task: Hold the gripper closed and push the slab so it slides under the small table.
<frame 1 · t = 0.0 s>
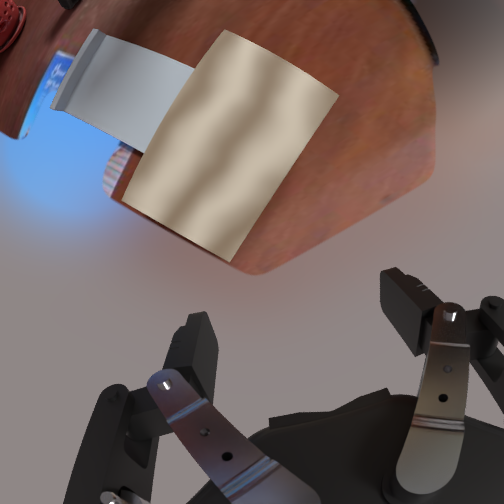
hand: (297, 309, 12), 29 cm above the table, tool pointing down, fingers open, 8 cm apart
small table: (190, 121, 35), on the table
plant pot: (10, 31, 24), on the table
slab: (125, 89, 33), on the table
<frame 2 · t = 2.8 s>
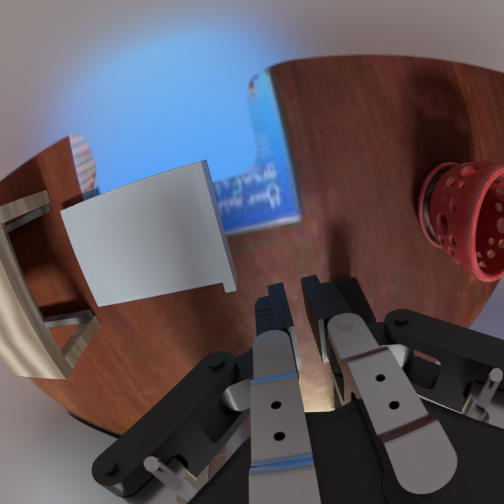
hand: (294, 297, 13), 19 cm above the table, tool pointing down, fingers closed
small table: (71, 261, 32), on the table
plant pot: (444, 201, 31), on the table
slab: (143, 240, 32), on the table
magazine: (342, 359, 40), on the table
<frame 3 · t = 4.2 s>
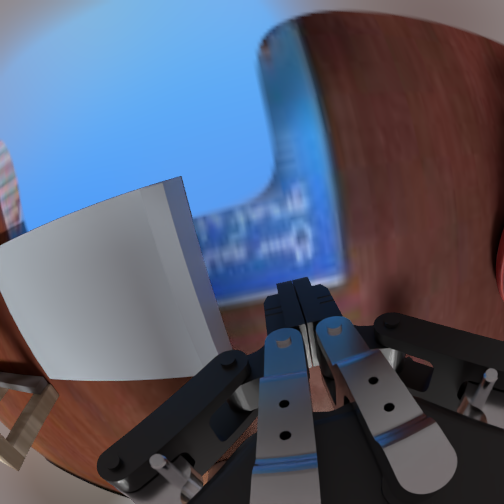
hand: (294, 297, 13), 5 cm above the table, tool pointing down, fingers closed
small table: (10, 318, 19), on the table
slab: (90, 304, 19), on the table
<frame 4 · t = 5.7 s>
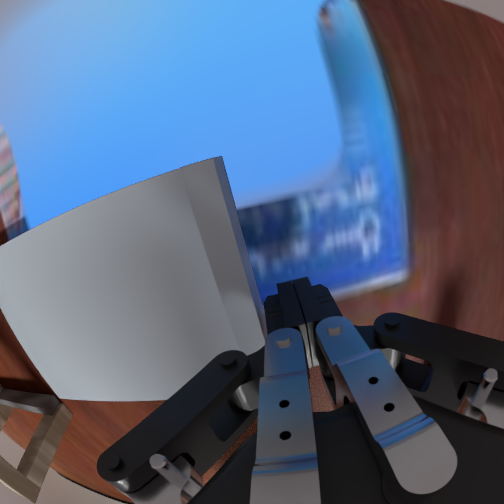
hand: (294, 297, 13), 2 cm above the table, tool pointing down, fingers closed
small table: (13, 332, 16), on the table
slab: (105, 315, 16), on the table
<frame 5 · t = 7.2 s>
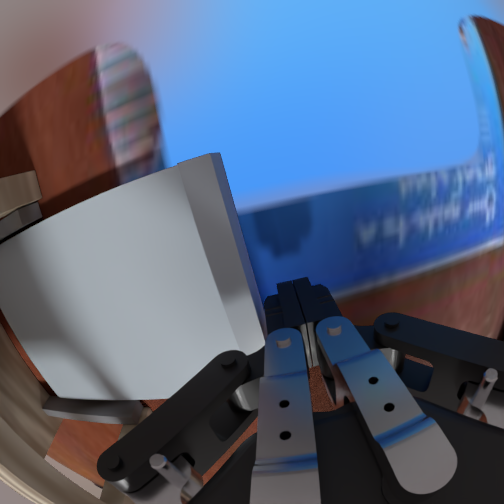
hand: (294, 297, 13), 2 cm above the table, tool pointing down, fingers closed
small table: (93, 322, 16), on the table
slab: (104, 313, 16), on the table, touching gripper
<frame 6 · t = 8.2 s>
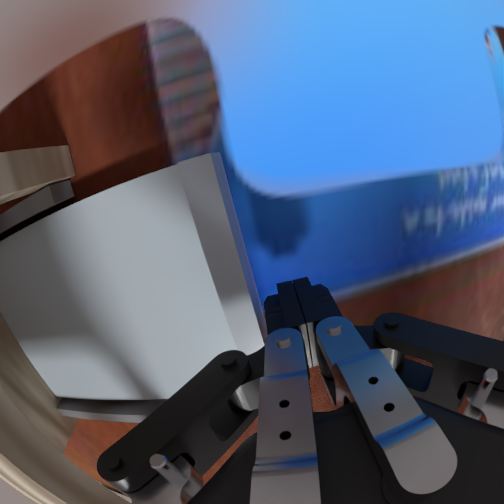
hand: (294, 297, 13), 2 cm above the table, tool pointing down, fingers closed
small table: (127, 312, 16), on the table
slab: (102, 313, 16), on the table, touching gripper, small table
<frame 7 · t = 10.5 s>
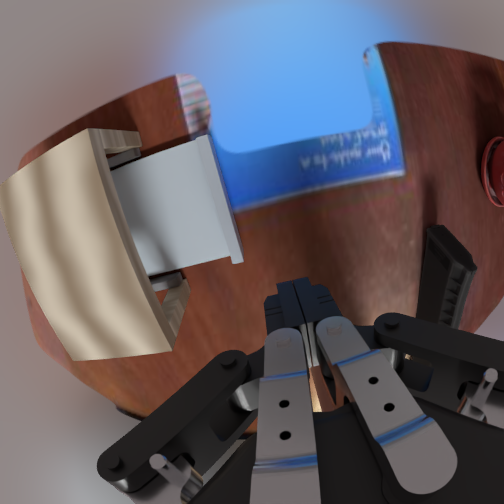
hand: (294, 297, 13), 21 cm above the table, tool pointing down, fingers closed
small table: (163, 214, 32), on the table
plant pot: (495, 169, 31), on the table
slab: (149, 217, 32), on the table
magazine: (422, 310, 39), on the table
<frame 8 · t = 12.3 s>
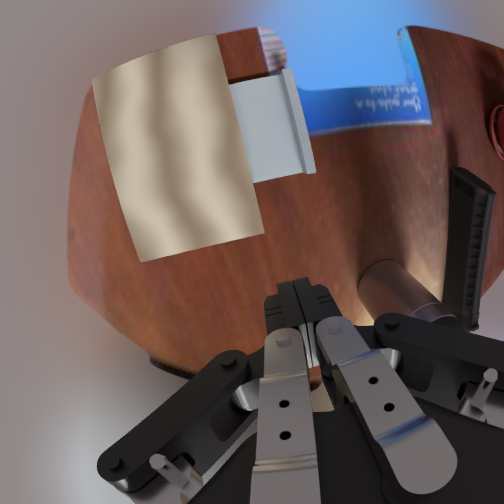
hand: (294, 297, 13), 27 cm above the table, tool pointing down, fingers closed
small table: (241, 134, 35), on the table
plant pot: (500, 132, 34), on the table
slab: (226, 136, 35), on the table
magazine: (451, 248, 42), on the table
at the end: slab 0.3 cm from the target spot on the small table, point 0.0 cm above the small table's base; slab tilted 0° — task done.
